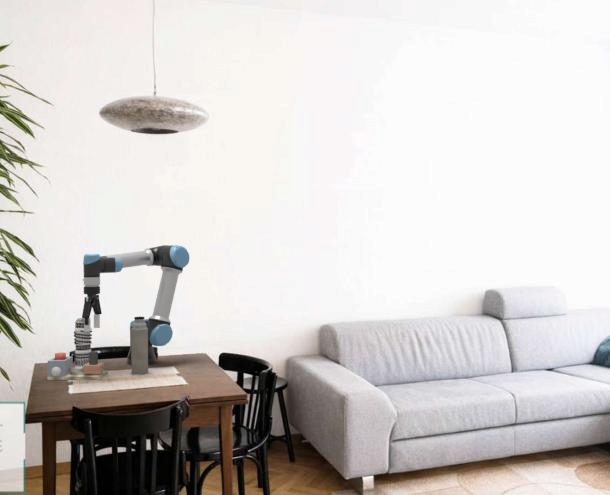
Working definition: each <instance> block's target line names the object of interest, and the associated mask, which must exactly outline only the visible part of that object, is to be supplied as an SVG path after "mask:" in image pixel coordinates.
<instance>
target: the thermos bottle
mask: <svg viewBox="0 0 610 495" xmlns="http://www.w3.org/2000/svg"><path fill="white" fill-rule="evenodd" d="M133 319H134V320H133V321H134V323H133V328H131V364H130V365H131V374H132V375H134V374H142V375H147V374H148V373H149V364H148V328H147V327H146V323H145V320H144V319H145V316H134V318H133ZM146 373H147V374H146Z"/></svg>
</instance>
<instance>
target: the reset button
mask: <svg viewBox="0 0 610 495" xmlns="http://www.w3.org/2000/svg"><path fill="white" fill-rule="evenodd" d="M66 357H67V352H56V353H54V358H55V360H65V359H66Z"/></svg>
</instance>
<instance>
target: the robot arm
mask: <svg viewBox="0 0 610 495" xmlns="http://www.w3.org/2000/svg"><path fill="white" fill-rule="evenodd" d="M82 262H83V263H82V265H83V279H82V282H83V286H84V287H83V295H87V296H85V297H84V300H83V301H84V302H83V303H84V304H83V308H82V314H81V318H84V332H90V327H91V322H90V321H91V318H90V317H91V314H92V310H93V313H94V314H93V328H94V329H99V328H100V324H101V322H100V321H101V320H100V319H101V316H100V315H102V308H101V303H100V294H101V287H100V285H101V274H107V273H108V274H110V273H114V274H115V273H120V272H121V271H122V270H123V269H125V268H126V269H127V268H131V267H133V268H134V267H139V266H147V267H153V266H154V267H155V266H158V267H160V269H161V271H162V273H161V277H160V281H159V282H160V283H159V286H158V290H157V294H156V298H155V303H154V308H153V313H152V315H151V316H149V317H148V318H146V319H145V318H144V320H145V323H146V327H147V328H148V365H149V364H153V363H156V362H157V357H156V354H155V351H154V348H153V346H154V347H155V346H156V347H164V346H166V345H167V344H169V343H170V342H171V340H172V337H173V333H174V332H173V329H172V327H171V324H172V323H171V322H172V321H171V320H170V315H171V310H172V307H173V306H172V305H173V301H174V298H175V293H176V288H177V284H178V279H179V275H180V274H182V273H183V271H184V270H183V269H184V268H185V267H186V266H188V264H189V262H190V253H189V251H188V250H187V248H185V246H183V245H177V244H175V245H167V244H166V245H165V244H164V245H158V246H155V247H150V248H149V247H148V248H145V249H144V250H142V251H141V250H140V251H132V252H126V253H118V254H110V255H100V254H99V253H86V254H84V255H83V261H82ZM133 323H134V320H132V321H130V325H129V338H130V340H129V341H130V342H129V345H130V348H129V351H128V353H127V354H128V355H127V358H126V364H129V365H132V364H131V328H133Z"/></svg>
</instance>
